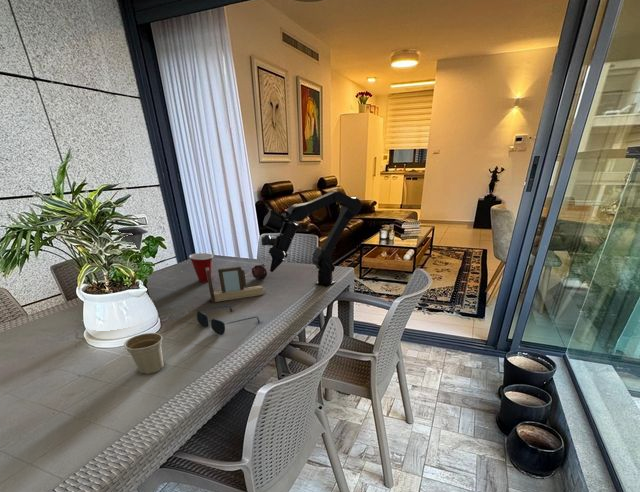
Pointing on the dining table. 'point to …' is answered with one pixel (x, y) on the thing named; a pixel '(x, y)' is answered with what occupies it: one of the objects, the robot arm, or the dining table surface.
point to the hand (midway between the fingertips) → (271, 271)
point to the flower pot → (146, 352)
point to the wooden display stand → (234, 294)
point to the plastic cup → (202, 265)
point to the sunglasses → (215, 321)
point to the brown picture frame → (232, 279)
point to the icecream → (259, 271)
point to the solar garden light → (133, 237)
